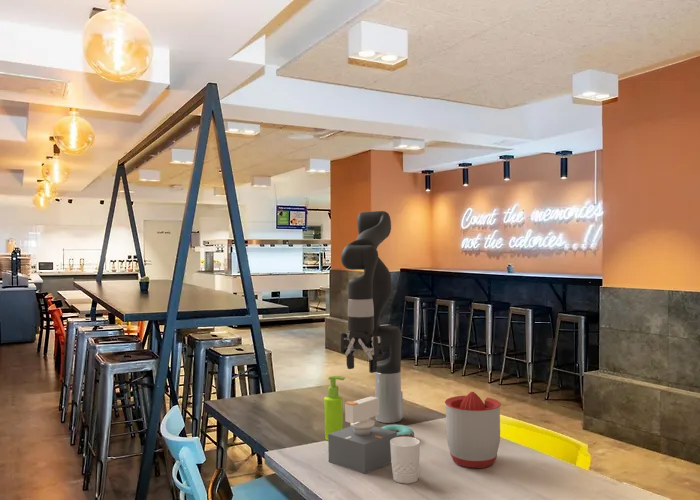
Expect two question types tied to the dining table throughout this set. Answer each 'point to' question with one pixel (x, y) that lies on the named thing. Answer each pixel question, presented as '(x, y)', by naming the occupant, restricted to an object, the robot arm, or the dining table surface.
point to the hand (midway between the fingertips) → (361, 370)
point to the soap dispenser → (333, 408)
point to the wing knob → (361, 412)
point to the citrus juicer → (473, 430)
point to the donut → (400, 430)
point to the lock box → (360, 448)
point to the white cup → (405, 459)
